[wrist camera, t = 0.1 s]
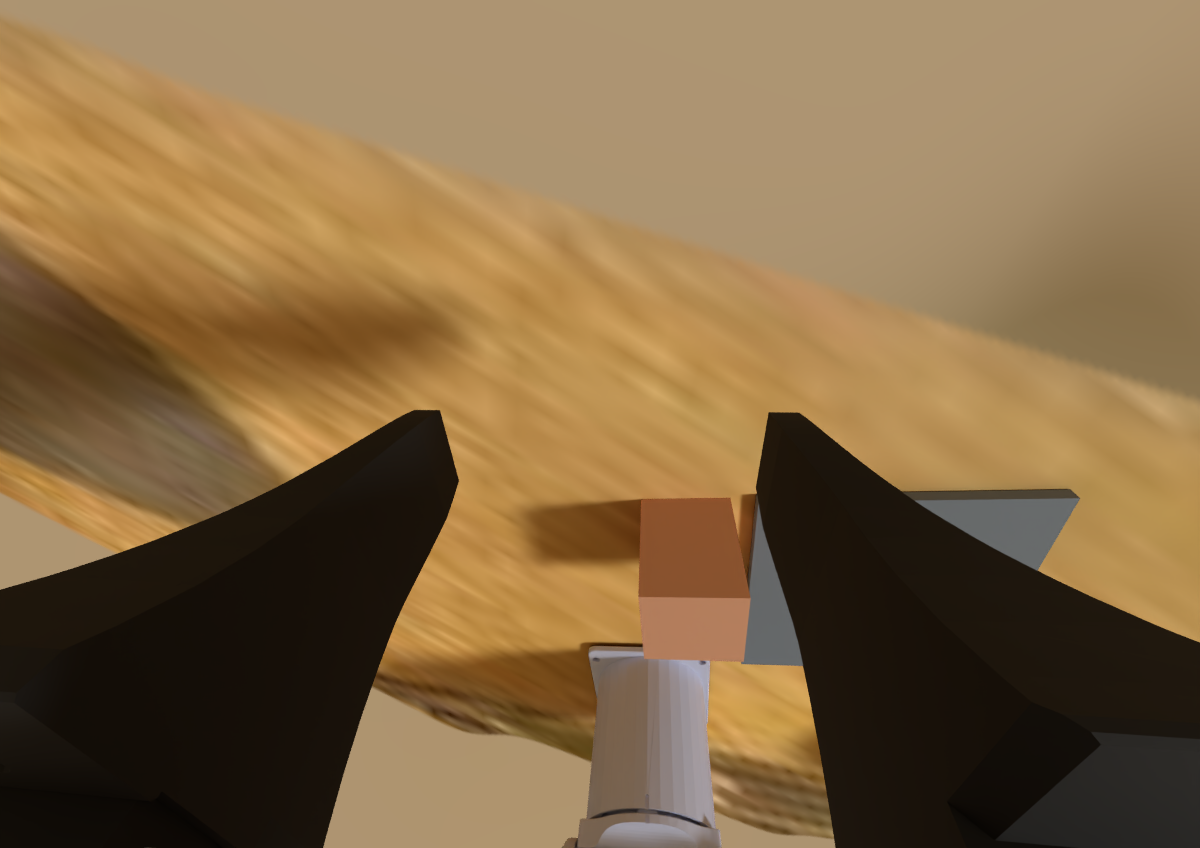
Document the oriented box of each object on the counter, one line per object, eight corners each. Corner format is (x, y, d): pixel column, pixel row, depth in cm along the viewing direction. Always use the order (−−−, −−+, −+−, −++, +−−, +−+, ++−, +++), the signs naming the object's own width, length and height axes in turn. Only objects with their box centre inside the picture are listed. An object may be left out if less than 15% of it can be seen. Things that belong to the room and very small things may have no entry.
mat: (972, 661, 30) (978, 670, 29) (740, 655, 31) (741, 663, 31) (1070, 489, 22) (1079, 498, 21) (756, 494, 24) (758, 502, 23)
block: (726, 558, 27) (743, 661, 22) (645, 558, 27) (644, 658, 22) (730, 497, 24) (750, 598, 19) (641, 498, 25) (638, 597, 20)
